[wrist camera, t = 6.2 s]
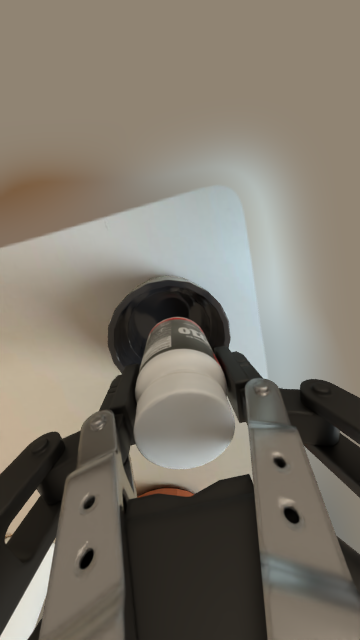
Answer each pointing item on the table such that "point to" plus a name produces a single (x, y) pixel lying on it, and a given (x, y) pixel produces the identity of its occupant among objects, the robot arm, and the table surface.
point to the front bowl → (163, 316)
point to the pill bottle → (181, 398)
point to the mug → (29, 602)
